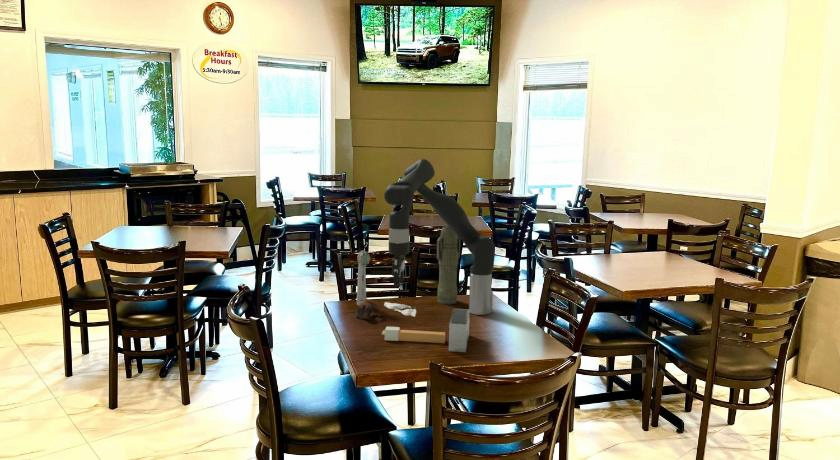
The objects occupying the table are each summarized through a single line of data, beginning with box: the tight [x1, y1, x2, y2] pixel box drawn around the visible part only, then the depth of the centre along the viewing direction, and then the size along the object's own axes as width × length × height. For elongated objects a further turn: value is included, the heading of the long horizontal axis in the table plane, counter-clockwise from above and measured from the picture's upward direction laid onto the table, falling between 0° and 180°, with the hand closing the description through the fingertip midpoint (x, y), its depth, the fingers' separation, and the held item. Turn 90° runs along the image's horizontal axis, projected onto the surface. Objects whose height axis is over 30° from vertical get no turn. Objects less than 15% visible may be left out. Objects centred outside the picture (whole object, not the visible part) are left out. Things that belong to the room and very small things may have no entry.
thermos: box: [436, 225, 461, 305], centre depth 285 cm, size 9×12×35 cm
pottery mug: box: [355, 298, 381, 320], centre depth 260 cm, size 12×9×8 cm
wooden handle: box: [381, 326, 446, 344], centre depth 232 cm, size 23×4×4 cm, turn 83°
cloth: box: [383, 301, 417, 318], centre depth 274 cm, size 26×14×2 cm, turn 22°
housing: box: [448, 308, 471, 353], centre depth 229 cm, size 6×20×13 cm, turn 173°
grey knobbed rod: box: [356, 250, 371, 307], centre depth 276 cm, size 5×7×25 cm
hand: (398, 284), depth 231 cm, fingers open, 8 cm apart
